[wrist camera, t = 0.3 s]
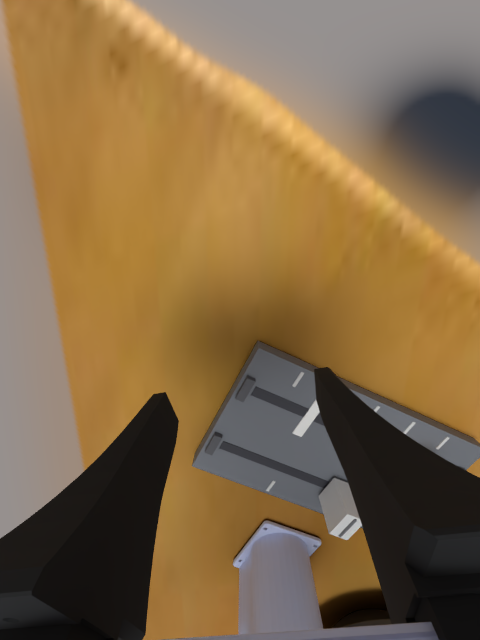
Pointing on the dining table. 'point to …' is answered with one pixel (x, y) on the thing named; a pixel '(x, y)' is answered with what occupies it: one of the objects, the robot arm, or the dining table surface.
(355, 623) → the planter
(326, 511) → the grey fader knob
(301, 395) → the console
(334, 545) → the dining table surface
